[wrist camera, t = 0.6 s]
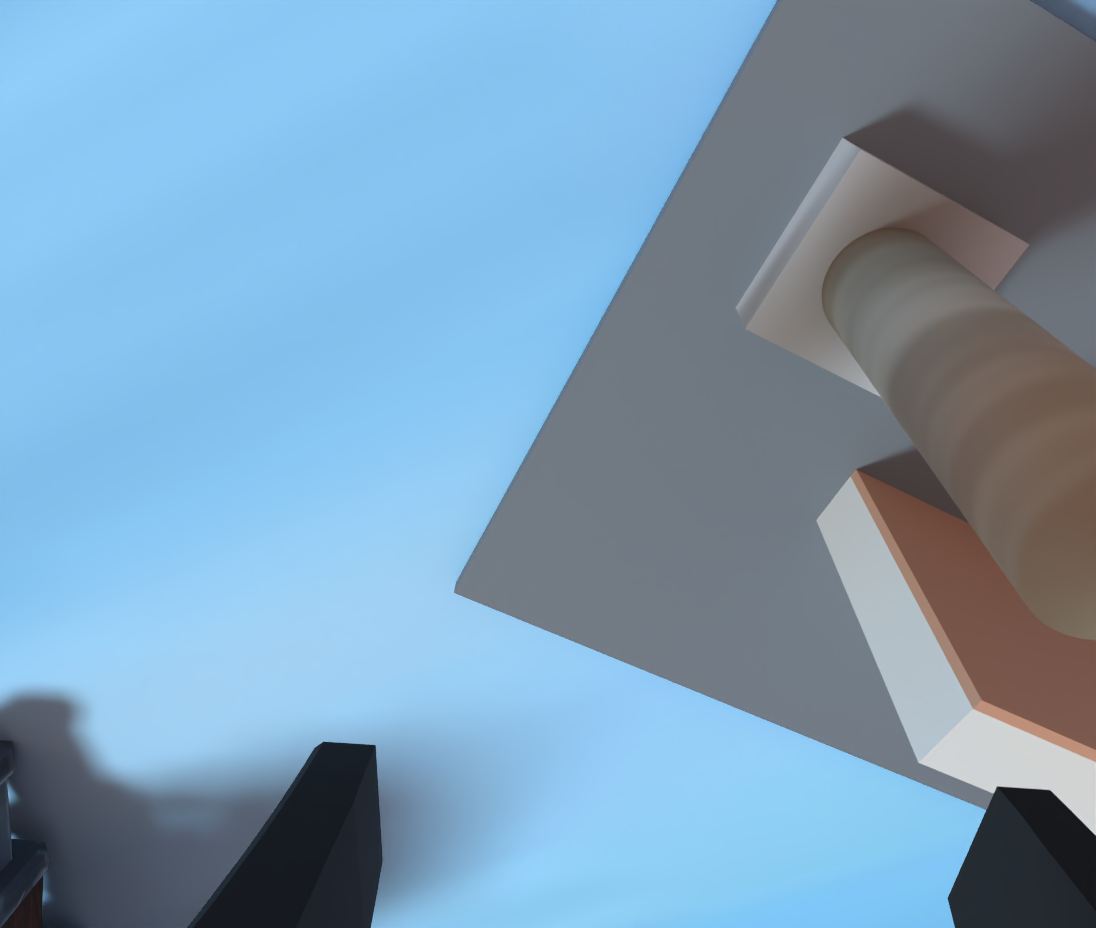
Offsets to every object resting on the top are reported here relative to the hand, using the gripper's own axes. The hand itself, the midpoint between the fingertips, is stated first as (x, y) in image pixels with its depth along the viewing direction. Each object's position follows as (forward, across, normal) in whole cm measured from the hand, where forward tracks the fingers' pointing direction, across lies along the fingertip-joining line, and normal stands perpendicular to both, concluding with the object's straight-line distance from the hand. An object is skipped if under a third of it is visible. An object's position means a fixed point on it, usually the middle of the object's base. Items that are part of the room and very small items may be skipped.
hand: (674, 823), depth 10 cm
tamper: (+10, -4, -4) cm, 11 cm away
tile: (+10, -8, +2) cm, 13 cm away
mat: (+10, -8, +1) cm, 13 cm away
